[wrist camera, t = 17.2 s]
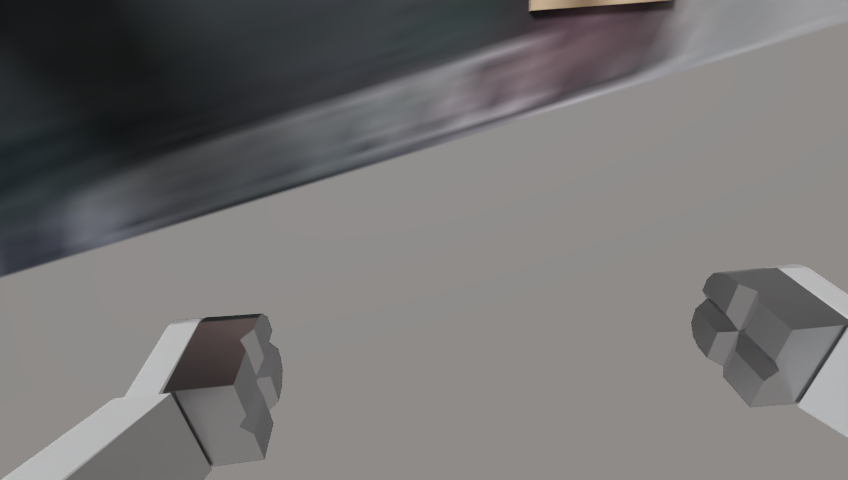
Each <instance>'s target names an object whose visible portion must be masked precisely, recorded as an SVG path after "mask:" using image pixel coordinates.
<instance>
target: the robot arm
mask: <svg viewBox="0 0 848 480" xmlns="http://www.w3.org/2000/svg"><path fill="white" fill-rule="evenodd" d="M703 292H704V294H705V296H706V298H707V299H706V300H705V301H704V302H703V303H702V304H701V305H699V306H698V307H697V308H696V309H695V312H694V315H693V319H692V322H691V324H692V331H693V337H694V339H695V341H696V343H697V345H698V347H699V348H700V350H701V351H702V352H703V353H704V354H705V356H706V357H707V358H709V359H710V360H712V361H714V362H716V363H718V364H720V365H722V366H723V377H724V378H725V379H726V380H727V382H728V383H729V384H730V385H731V386H732V387H733V389H734V390H735V391H736V392H737V393H738V394H739V396H740V397H741V398H742V399H743V400H744V401H745V402H746V404H747V405H748V406H749V407H761V406H775V405H786V404H798V407H800V408H801V409H803V410H804V411H806V412H808V413H809V414H811V415H812V416H814V417H815V418H817V419H819V420H820V421H822V422H823V423H825V424H827V425H828V426H830V427H831V428H833V429H835V430H836V431H838V432H839V433H841V434H842V435H844V436H846V437H847V438H848V294H846V293H845V292H843V291H841V290H840V289H839V288H837V287H836V286H834V285H833V284H831V283H830V282H828V281H827V280H825V279H824V278H822V277H821V276H819V275H818V274H816V273H815V272H814V271H812V270H811V269H809V268H807V267H804V266H801V265H797V264H790V265H781V266H772V267H767V268H760V269H749V270H739V271H728V272H718V273H713V274H712V275H711V276H710V277H709V278H708V279H707V281H706V283H705V286H704V288H703ZM271 333H272V328H271V326H270V323H269V320H268V318H267V316H265V315H264V314H251V315H236V316H223V317H207V318H203V319H202V318H200V319H186V320H176V321H174V322H172V323H171V324H169V325H168V327H167V328H166V330H165V332H164V333H163V335H162V336H161V338H160V339H159V341H158V343H157V344H156V346H155V348H154V349H153V351H152V352H151V354H150V356H149V357H148V359H147V361H146V362H145V364H144V366H143V367H142V369H141V370H140V372H139V374H138V375H137V377H136V379H135V380H134V382H133V384H132V385H131V387H130V388H129V390H128V392H127V393H126V395H125V396H124V398H116V399H113V400H111V401H110V402H108V403H107V404H106V405H104V406H103V407H101V408H100V409H99V410H97V411H96V412H94V413H93V414H92V415H91V416H89V417H88V418H87V419H85V420H83V421H82V422H81V423H79V424H78V425H77V426H75V427H74V428H72V429H71V430H70V431H68V432H67V433H65V434H64V435H63V436H61V437H60V438H58V439H57V440H56V441H54V442H53V443H52V444H50V445H49V446H47V447H46V448H45V449H43V450H42V451H40V452H39V453H38V454H36V455H35V456H33V457H32V458H31V459H29V460H28V461H27V462H25V463H24V464H23V465H21V466H20V467H18V468H17V469H15V470H14V471H13V472H11V473H10V474H9V475H7V476H6V477H4V478H3V479H2V480H204V479H205V477H206V476H207V475H208V474H209V473H210V471H211V470H212V468H211V467H213V466H220V465H228V464H235V463H242V462H250V461H257V460H264V459H265V455H266V451H267V447H268V443H269V439H270V435H271V431H272V427H273V421H272V418H271V415H270V412H269V410H270V409H271V408H272V407H273V406H274V405H275V404H276V403H277V402H278V401H279V397H280V393H281V388H282V363H281V357H280V354H279V351H278V348H276V347H275V346H274V345H272V344H271V343H269V340H270V336H271Z"/></svg>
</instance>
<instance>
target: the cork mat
mask: <svg viewBox="0 0 848 480" xmlns="http://www.w3.org/2000/svg"><path fill="white" fill-rule="evenodd" d="M659 1H670V0H529V11H537V10H550V9H564V8H578V7H591V6H605V5H618V4H632V3H646V2H659Z"/></svg>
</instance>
